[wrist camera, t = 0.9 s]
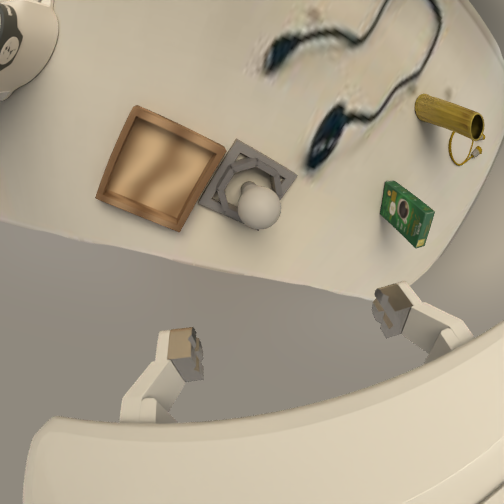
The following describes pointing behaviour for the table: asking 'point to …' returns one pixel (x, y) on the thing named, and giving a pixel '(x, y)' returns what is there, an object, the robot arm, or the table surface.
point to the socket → (232, 166)
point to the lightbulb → (258, 206)
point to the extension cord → (474, 153)
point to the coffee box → (406, 213)
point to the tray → (158, 169)
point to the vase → (450, 116)
